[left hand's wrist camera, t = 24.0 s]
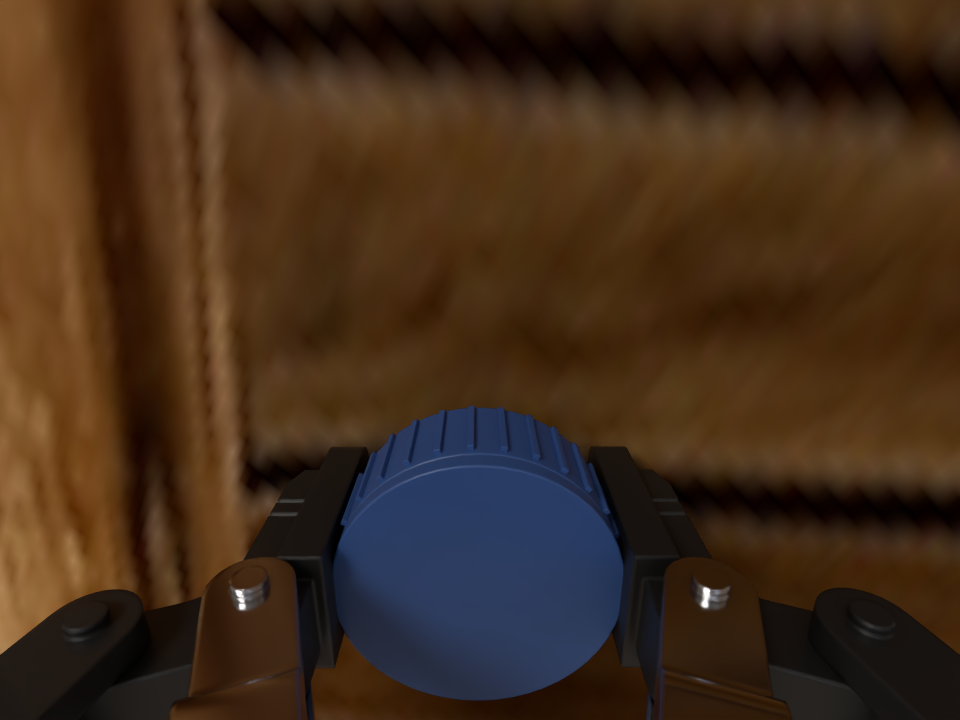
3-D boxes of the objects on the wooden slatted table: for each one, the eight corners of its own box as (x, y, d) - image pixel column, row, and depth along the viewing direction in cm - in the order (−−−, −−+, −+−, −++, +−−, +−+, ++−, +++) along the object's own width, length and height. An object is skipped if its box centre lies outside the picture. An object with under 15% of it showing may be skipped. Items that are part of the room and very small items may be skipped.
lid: (557, 636, 12) (572, 728, 10) (330, 586, 12) (301, 672, 10) (641, 440, 11) (679, 504, 9) (382, 373, 10) (359, 426, 8)
